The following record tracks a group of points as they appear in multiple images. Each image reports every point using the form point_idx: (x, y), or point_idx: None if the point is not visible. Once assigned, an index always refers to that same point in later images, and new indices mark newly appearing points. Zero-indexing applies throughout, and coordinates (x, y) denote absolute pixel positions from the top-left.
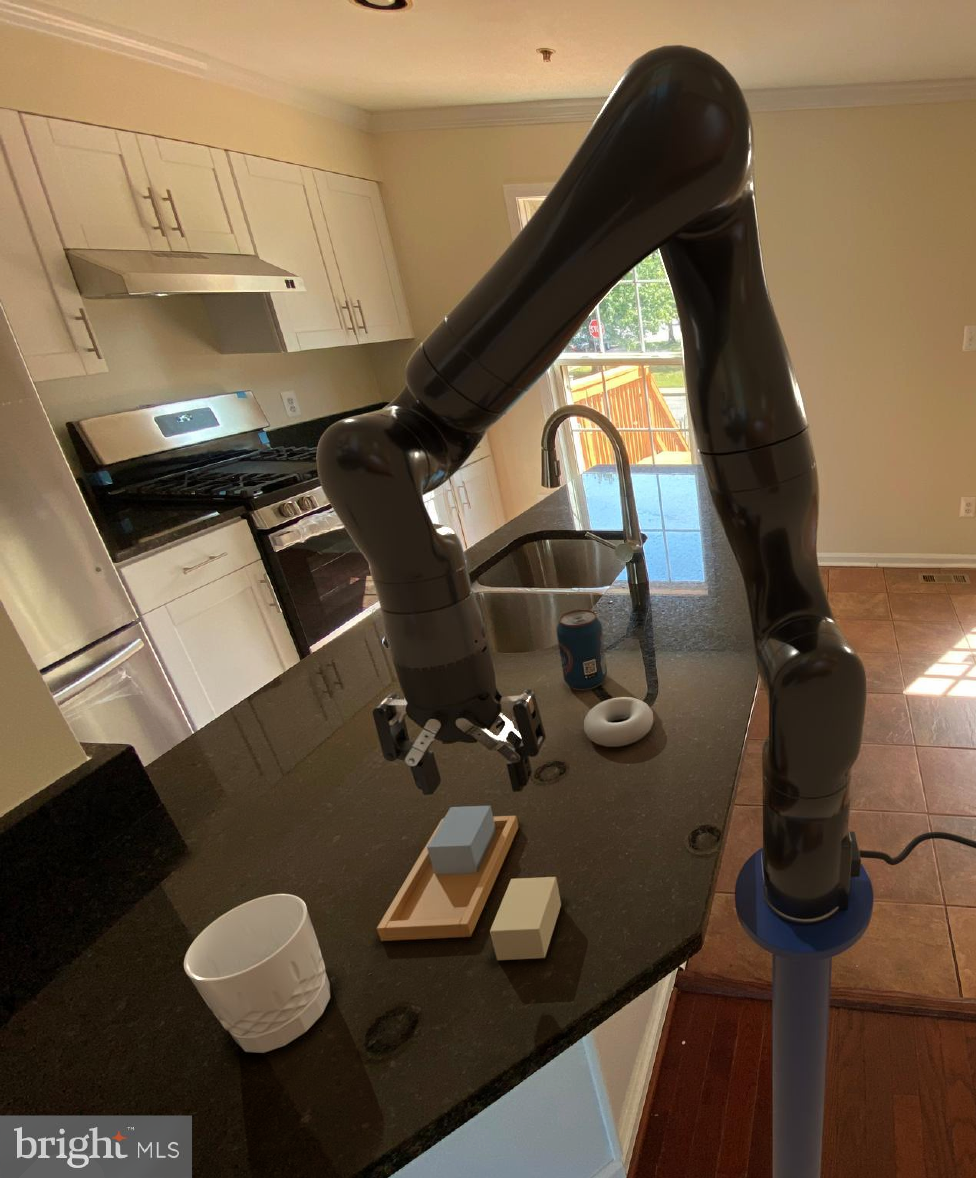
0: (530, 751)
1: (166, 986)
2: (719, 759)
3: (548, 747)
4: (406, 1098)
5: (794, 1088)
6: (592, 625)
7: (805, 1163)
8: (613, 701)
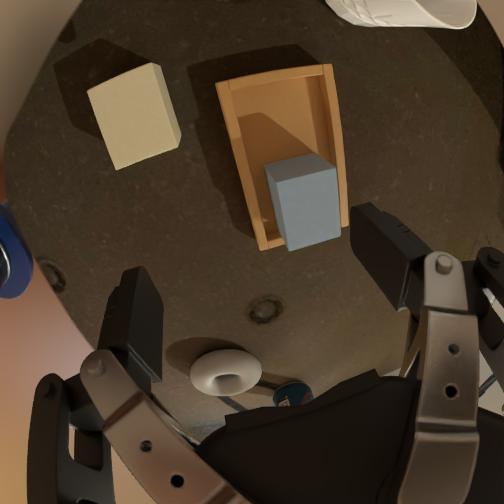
0: (45, 391)
1: (454, 38)
2: None
3: (286, 332)
4: None
5: None
6: None
7: None
8: (240, 390)
